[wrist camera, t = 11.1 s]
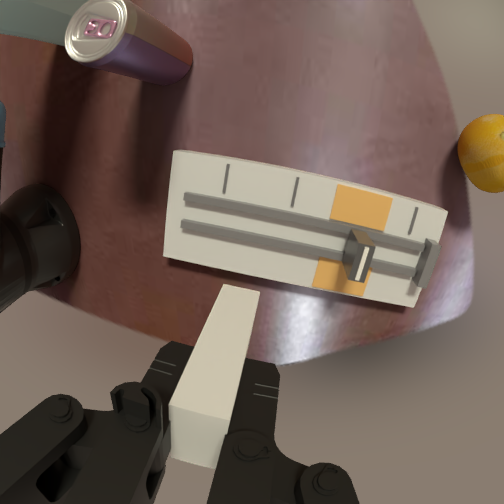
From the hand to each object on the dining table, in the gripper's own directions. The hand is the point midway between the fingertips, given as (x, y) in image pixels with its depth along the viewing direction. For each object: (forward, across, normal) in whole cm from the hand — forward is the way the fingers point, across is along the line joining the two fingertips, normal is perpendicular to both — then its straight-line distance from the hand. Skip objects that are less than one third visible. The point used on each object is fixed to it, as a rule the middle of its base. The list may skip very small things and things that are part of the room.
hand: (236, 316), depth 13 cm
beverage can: (+23, -14, +14) cm, 30 cm away
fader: (+20, +9, -2) cm, 22 cm away
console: (+22, +4, -2) cm, 23 cm away
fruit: (+23, +22, +12) cm, 34 cm away
